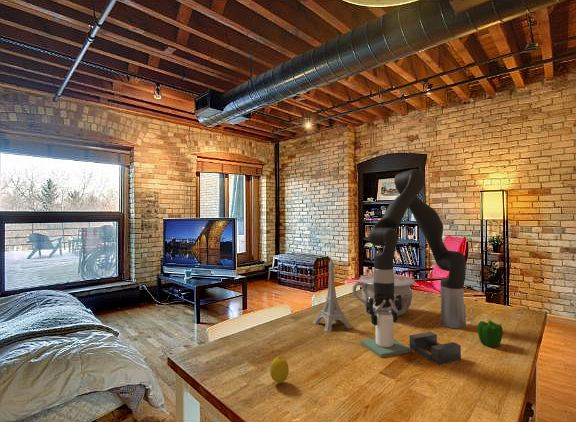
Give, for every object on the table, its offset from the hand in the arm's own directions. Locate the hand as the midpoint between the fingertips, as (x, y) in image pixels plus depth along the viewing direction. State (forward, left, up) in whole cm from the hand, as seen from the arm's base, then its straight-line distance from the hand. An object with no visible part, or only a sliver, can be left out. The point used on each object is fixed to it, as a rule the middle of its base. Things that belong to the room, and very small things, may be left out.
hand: (384, 323), depth 120 cm
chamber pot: (-27, -35, -9) cm, 45 cm away
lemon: (+45, +10, -9) cm, 47 cm away
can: (0, 0, -8) cm, 8 cm away
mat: (0, 0, -9) cm, 9 cm away
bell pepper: (-39, +12, -9) cm, 42 cm away
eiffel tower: (+7, -29, -10) cm, 31 cm away
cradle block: (-13, +11, -9) cm, 19 cm away
